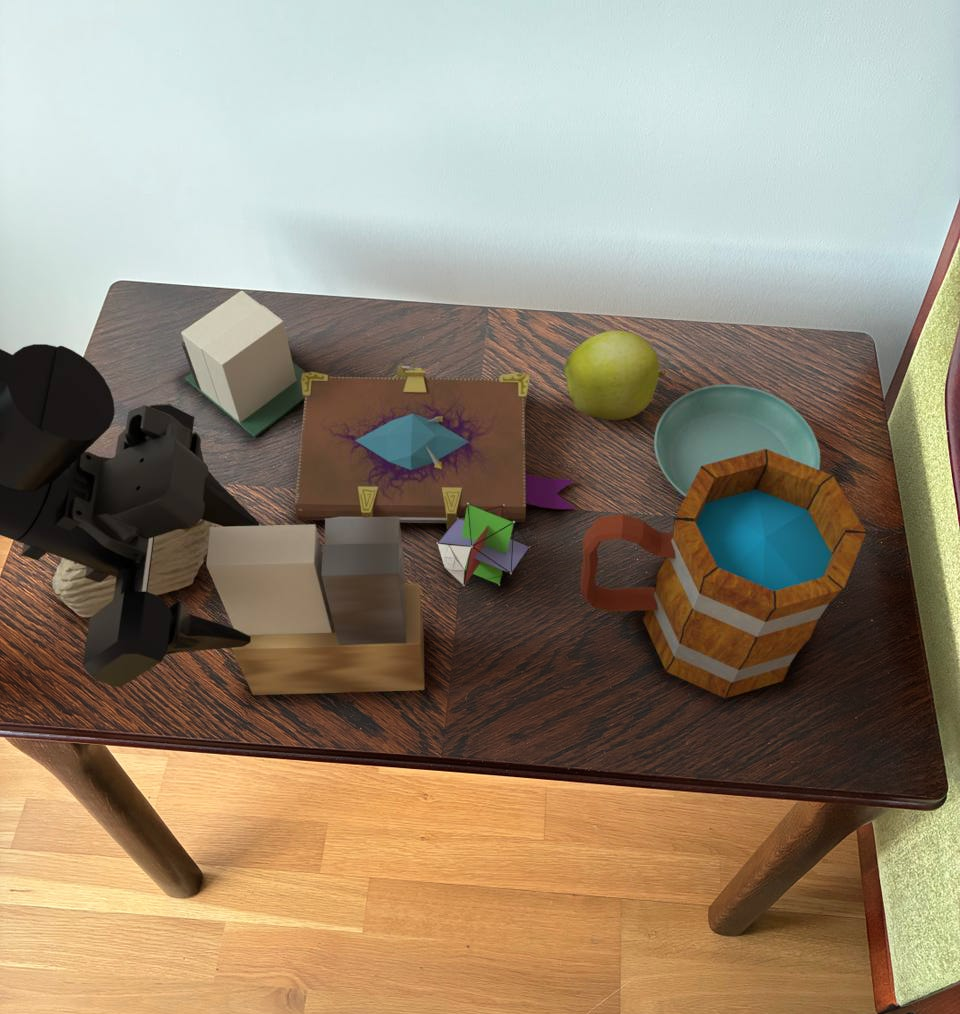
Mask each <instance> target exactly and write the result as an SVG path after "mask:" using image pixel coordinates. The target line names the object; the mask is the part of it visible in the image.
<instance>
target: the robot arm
mask: <svg viewBox="0 0 960 1014" xmlns="http://www.w3.org/2000/svg"><path fill="white" fill-rule="evenodd" d="M115 412H116V411H115V401H114V397H113V394H112V391H111V388H110V387H109V385H108V383H107V382H106V380H105V378H104V376H103V375H102V374H101V373H100V372H99V370H98V369H97V368H96V367H95V366H94V365H93V364H92V363H91V362H90V361H89V360H88V359H86V358H85V357H84V356H82V355H81V354H79V353H78V352H76V351H75V350H73V349H71V348H68V347H66V346H64V345H58V346H55V345H51V344H47V343H44V344H43V343H37V344H35V343H34V344H33V343H32V344H30V345H26V346H22V347H21V348H20V349H18V350H17V351H15V352H14V353H13V354H12V353H11V352H8V351H5V350H3V349H1V348H0V536H1V537H4V538H6V539H10V540H13V541H15V542H17V543H21V544H22V545H23V546H22V550H21V556H24V557H26V558H29V559H32V560H35V561H39V560H40V559H41V558H42V557H44V555H46V554H51V555H53V556H57V557H59V558H61V559H62V558H64V559H67V560H70V561H72V562H75V563H78V564H81V565H83V566H86V567H87V569H86V575H85V578H88V579H90V580H93V581H96V582H99V583H100V582H102V581H103V580H104V579H105V578H107V577H108V576H109V575H111V576H114V577H116V584H115V591H114V598H113V601H112V602H110V603H109V604H108V605H106V606H105V607H104V608H102V609H101V610H100V611H98V612H97V613H96V614H94V615H93V616H91V617H89V621H88V626H87V633H86V639H85V647H84V651H83V652H84V653H83V659H82V668H83V669H84V670H85V671H86V673H87V674H88V675H89V676H90V677H91V678H92V679H93V680H94V681H95V682H97V683H102V684H105V685H108V686H112V687H114V688H119V689H121V688H123V687H124V686H126V685H127V684H129V683H130V682H132V681H133V680H135V679H137V678H138V677H139V676H141V675H143V674H145V673H146V672H147V671H150V670H151V669H152V668H154V667H156V666H157V665H158V664H160V663H162V662H163V660H164V658H165V656H167V655H173V654H177V653H178V654H179V653H187V652H197V651H208V650H220V649H232V648H234V647H243V646H245V645H247V644H249V643H250V642H251V637H250V636H249V635H247V634H245V633H243V632H241V631H239V630H236V629H234V627H231V626H228V625H225V624H221V623H219V622H215V621H213V620H210V619H207V618H203V617H200V616H197V615H195V614H191V613H189V611H188V609H187V607H186V606H185V605H184V603H183V602H182V600H180V599H178V600H176V601H175V602H173V603H171V604H170V605H169V606H168V605H167V603H166V601H165V600H164V598H163V597H162V596H160V595H154V594H152V593H149V592H147V591H148V583H149V576H150V568H151V560H152V552H153V545H154V537H156V536H159V535H162V534H165V533H168V532H171V531H174V530H177V529H183V530H185V529H188V528H190V527H193V526H194V525H196V524H197V523H198V522H199V521H200V519H202V520H205V521H208V522H211V523H213V525H217V526H220V527H231V526H260V522H259V520H257V518H255V516H254V515H252V514H251V513H250V512H249V511H248V510H247V509H246V508H245V507H244V506H243V505H242V504H241V503H240V502H239V501H238V500H237V499H236V498H235V497H234V496H233V495H232V494H231V493H230V492H229V491H227V489H226V488H225V487H224V486H223V485H222V484H221V483H220V482H219V481H218V480H217V479H216V478H215V476H214V475H213V474H212V473H211V472H210V471H209V466H208V464H207V463H206V462H205V460H204V456H203V452H202V446H201V444H202V443H201V442H202V439H201V436H200V435H199V434H198V433H197V432H194V426H195V425H194V424H195V416H193V415H192V414H191V413H189V412H187V411H185V410H182V409H181V408H178V407H177V406H175V405H173V404H171V403H157V404H151V405H149V406H148V405H146V404H144V405H141V406H139V407H137V408H134V409H131V410H129V411H128V413H127V417H126V422H125V423H126V424H125V429H124V430H123V431H122V432H121V433H120V434H119V435H117V442H116V447H115V454H114V456H113V457H105V456H99V455H98V454H97V455H96V454H94V453H92V452H90V451H87V450H88V449H89V448H90V447H91V446H92V445H94V443H96V442H97V441H98V440H99V438H101V436H103V434H104V433H106V432H107V431H108V430H109V429H110V427H111V425H112V423H113V421H114V417H115Z"/></svg>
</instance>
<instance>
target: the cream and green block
mask: <svg viewBox="0 0 960 1014" xmlns="http://www.w3.org/2000/svg"><path fill="white" fill-rule="evenodd" d="M180 333H181V337H182V339H183V342H181V346H182V348H183V352H184V355H185V357H186V360H187V363H188V366H189V369H190V371H191V373H189V374H188V375H186V376H185V377H184V380H185V381H186V382H187V383H189V385H191V386H192V387H193V388H195V390H197V391H198V392H199V393H200V394H202V396H204V397H205V398H207V400H209V401H210V402H211V403H212V404H213V405H215V406H216V407H217V408H218V409H220V410H221V411H222V412H223V413H224V414H225V415H227V416H228V417H229V418H230V419H232V420H233V421H234V422H235V423H236V424H238V426H240V427H241V428H242V429H244V431H246V432H247V433H248V434H249V435H250V436H252V437H253V438H255V439H256V438H257V437H258V436H259V435H261V434H263V432H265V431H266V430H267V429H269V428H270V427H271V426H273V425H274V424H275V423H277V422H278V421H279V420H281V419H283V417H284V416H285V415H287V414H289V413H290V412H292V410H294V409H295V408H297V406H299V405H300V404H301V403H303V402H304V401H305V398H304V397H303V391H302V382H301V378H302V373H307V372H306V371H305V370H303V369H302V368H301V367H300V366H299V365H297V364H296V363H295V362H293V358H292V354H291V350H290V344H289V341H288V336H287V330H286V327H285V323H284V320H283V319H282V318H280V317H279V316H277V315H276V314H275V313H274V312H272V311H271V310H270V309H269V308H267V307H266V306H265V305H263V304H260V303H259V302H258V301H256V299H254V298H253V297H251V296H250V295H248V293H246V292H245V291H244V290H240V291H238V292H237V293H235V294H234V295H233V296H232V297H230V298H229V299H227V300H226V301H224V302H223V303H222V304H220V305H218V306H217V307H215V308H214V309H213V310H211V311H209V312H208V313H207V314H206V315H204V316H202V317H201V318H200V319H198V320H197V321H195V322H194V323H193V324H191V325H189V326H188V327H186V328H185V329H183V330H182V331H181V332H180Z"/></svg>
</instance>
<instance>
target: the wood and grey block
mask: <svg viewBox="0 0 960 1014" xmlns="http://www.w3.org/2000/svg"><path fill="white" fill-rule="evenodd" d="M321 549H322V573H321V576H322V580H323V584H324V588H325V592H326V596H327V600H328V604H329V608H330V612H331V616H332V633H313V634H276V635H249V636H250V637H251V642H250V643H249V644H247V645H245V646H243V647H234V648H231V650H232V652H233V655H234V657H235V659H236V661H237V664H238V665H239V668H240V670H241V672H242V674H243V676H244V678H245V680H246V683H247V685H248V687H249V690H250V691H251V694H252V695H253V696H269V695H271V696H272V695H302V694H305V695H307V694H334V693H336V694H338V693H340V694H341V693H368V692H369V693H372V692H406V691H409V692H411V691H425V689H426V688H425V632H424V631H425V630H424V620H423V619H424V618H423V607H422V594H421V584H420V583H407V577H406V568H405V567H406V566H405V559H404V549H403V538H402V530H401V523H400V519H399V517H363V518H326V519H325V520H324V544H322V546H321Z"/></svg>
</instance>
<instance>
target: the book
mask: <svg viewBox="0 0 960 1014" xmlns="http://www.w3.org/2000/svg"><path fill="white" fill-rule="evenodd" d="M301 382H302V391H303V397H304V398H305V400H304V401H303V402H304V403H303V413H302V423H301V424H302V425H301V434H300V446H299V456H298V465H297V466H298V467H297V477H296V487H295V497H294V498H295V500H294V511H295V517H296V519H297V520H298V521H325V519H326V518H363V517H399V519H400V524H401V523H402V524H403V523H404V524H405V523H407V524H410V523H411V524H445V525H446V531H448V530H449V527H450V526H452V525H453V524H454V523H453V522H455V521H456V520H457V519H456V518H457V517H459V516H460V517H463V516H465V515H466V510H467V506H466V505H467V503H469V504H470V505H473V506H475V507H478V508H480V509H483V510H488V509H491V510H488V512H490V513H493V514H495V515H497V513H498V512H499V511H500V509H501V508H502V507H503V506H502V507H499V506H501V505H505V506H504V508H503V513H502V517H503V518H505V519H508V520H510V521H515V523H526V518H527V517H526V516H527V505H529V506H534V507H537V508H538V507H539V508H543V509H551V510H576V508H575V507H574V506H572V505H571V504H570V503H569V502H567V500H565V498H562V496H560V495H559V494H558V493H559V492H561V491H562V490H564V489H565V488H566V487H567V486H568V485H570V484H571V483H572V482H574V479H567V478H566V479H565V478H563V479H561V478H549V477H541V476H537V475H533V474H529V473H526V471H527V469H526V414H525V413H526V405H527V399H528V392H529V387H530V374H528V373H523V372H512V373H507V374H500V375H499V378H467V377H465V378H463V377H460V378H458V377H427V376H426V370H423V368H422V367H411V366H408V365H404V364H403V363H402V362H400V364H399V365H398V366H397V370H396V374H395V375H394V376H393V377H385V376H384V377H380V376H379V377H378V376H376V377H375V376H367V377H366V376H360V377H359V376H329V375H328V374H326V373H325V374H324V373H320V372H315V371H309V372H306V373H302V378H301ZM480 504H485V505H480ZM465 507H466V508H465ZM496 507H499V508H496ZM464 508H465V509H464ZM492 508H495V509H492ZM505 508H506V509H505ZM463 509H464V511H463ZM506 510H507V511H506ZM462 511H463V512H462ZM460 513H462V514H461V515H459V514H460ZM508 513H509V514H508ZM509 515H510V516H511V517H510V516H509ZM460 517H459V518H460ZM511 518H512V519H511ZM460 519H461V520H464V521H465V517H463V518H460ZM452 523H453V524H452Z"/></svg>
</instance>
